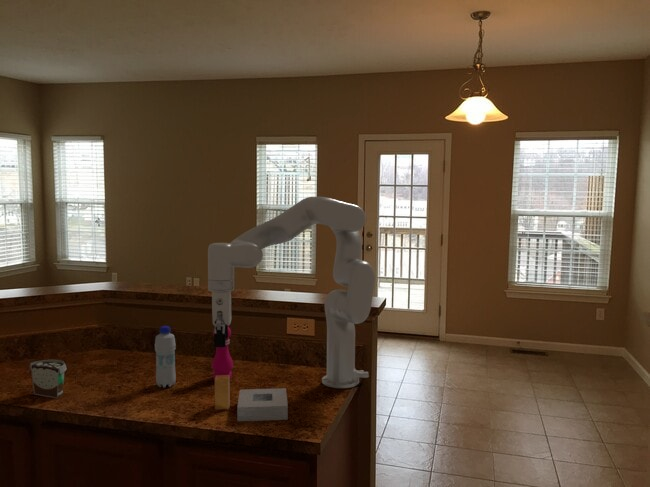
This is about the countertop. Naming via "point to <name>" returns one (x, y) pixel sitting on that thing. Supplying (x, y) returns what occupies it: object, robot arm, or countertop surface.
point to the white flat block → (262, 405)
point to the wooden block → (222, 392)
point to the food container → (48, 377)
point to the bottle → (165, 357)
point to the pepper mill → (222, 359)
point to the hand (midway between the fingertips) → (221, 342)
